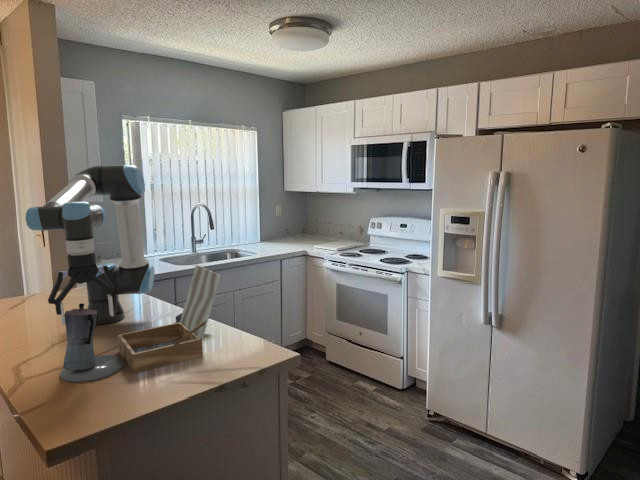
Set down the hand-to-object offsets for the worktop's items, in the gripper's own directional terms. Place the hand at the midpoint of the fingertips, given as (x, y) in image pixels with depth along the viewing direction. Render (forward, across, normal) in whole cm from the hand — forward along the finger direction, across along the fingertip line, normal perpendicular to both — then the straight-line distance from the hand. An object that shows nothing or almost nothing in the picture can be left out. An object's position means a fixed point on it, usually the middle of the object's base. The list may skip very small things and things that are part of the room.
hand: (88, 319), depth 144 cm
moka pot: (+15, -4, 0) cm, 15 cm away
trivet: (+16, 0, -1) cm, 16 cm away
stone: (+17, +37, +14) cm, 43 cm away
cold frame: (+16, +25, -1) cm, 30 cm away
